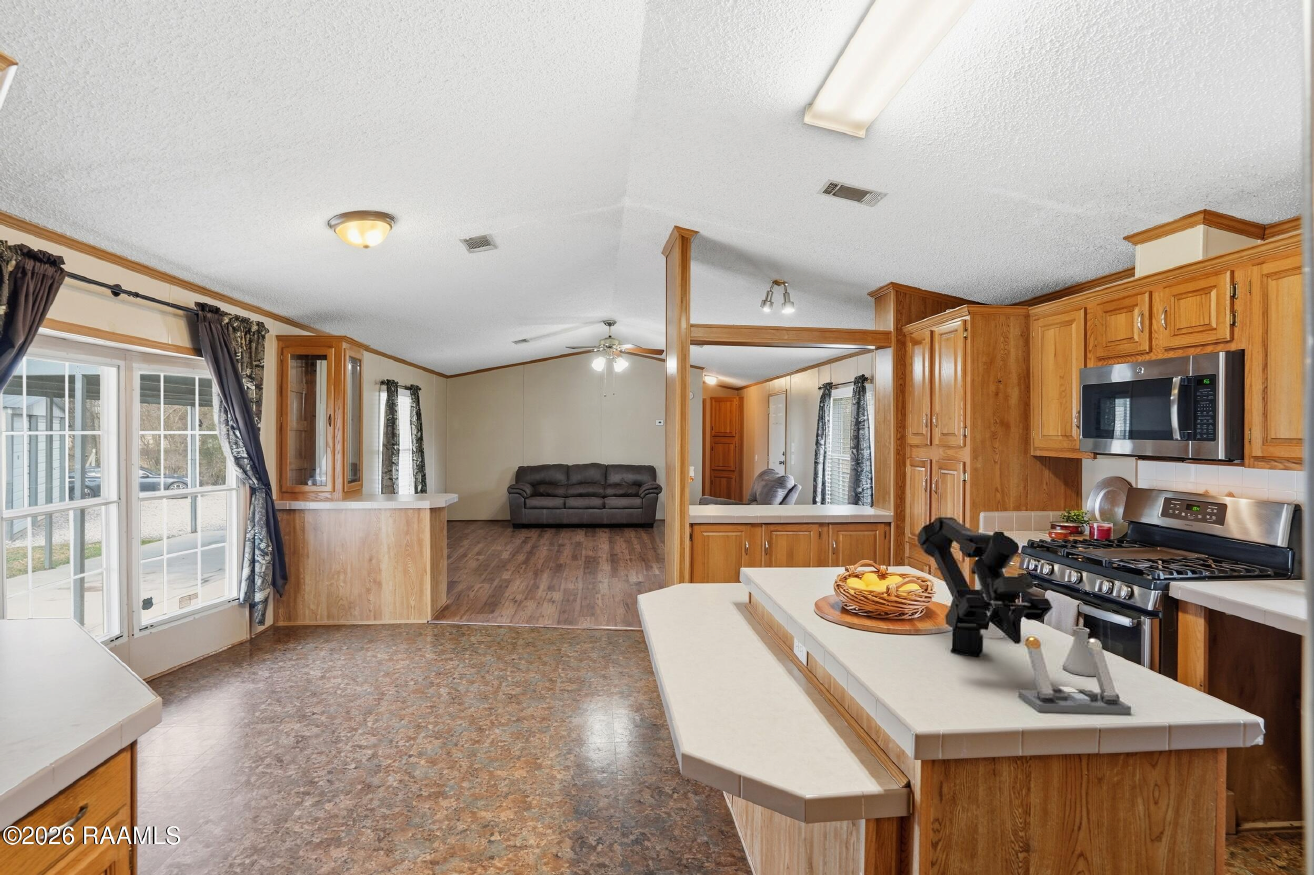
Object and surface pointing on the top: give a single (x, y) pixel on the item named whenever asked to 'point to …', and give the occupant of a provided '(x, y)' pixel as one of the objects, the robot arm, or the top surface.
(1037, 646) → the orange knob lever
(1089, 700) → the panel
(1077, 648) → the flask
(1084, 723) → the top surface
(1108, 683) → the lever
